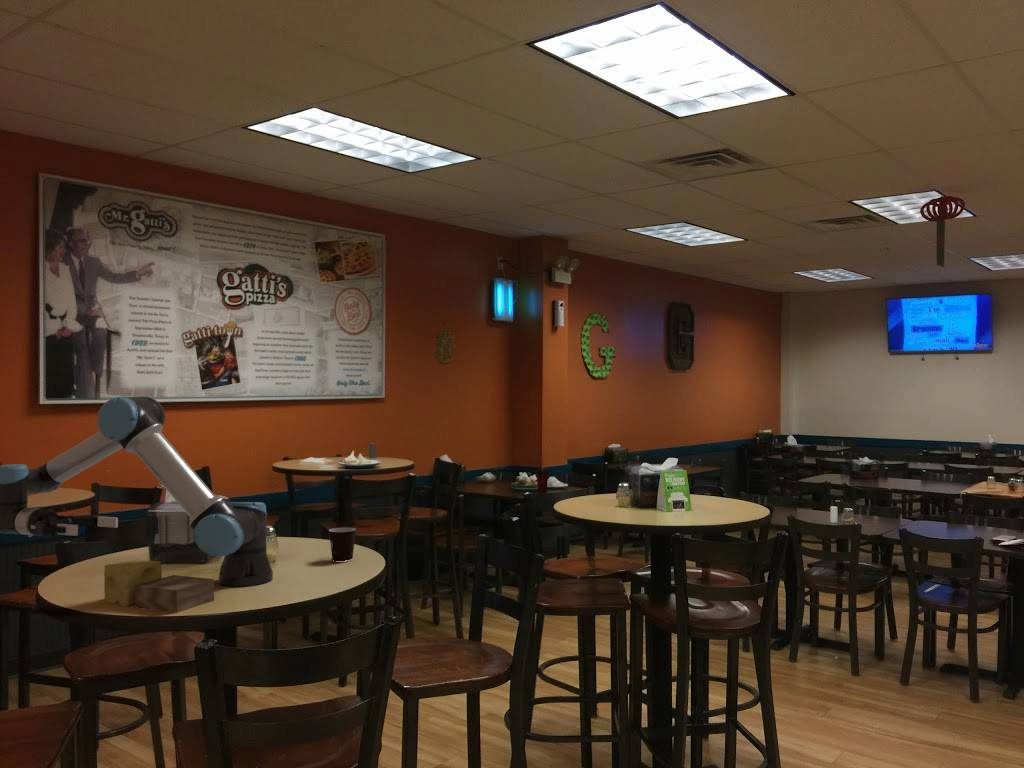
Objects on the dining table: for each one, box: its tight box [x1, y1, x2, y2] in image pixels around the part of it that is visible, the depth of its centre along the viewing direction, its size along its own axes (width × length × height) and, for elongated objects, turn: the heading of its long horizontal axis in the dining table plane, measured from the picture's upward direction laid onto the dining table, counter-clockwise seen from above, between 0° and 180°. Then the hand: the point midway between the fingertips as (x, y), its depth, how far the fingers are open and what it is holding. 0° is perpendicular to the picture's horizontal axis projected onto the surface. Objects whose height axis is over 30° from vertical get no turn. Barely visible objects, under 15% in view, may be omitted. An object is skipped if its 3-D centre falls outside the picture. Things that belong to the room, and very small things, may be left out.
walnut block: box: [134, 574, 215, 614], centre depth 218 cm, size 14×13×6 cm
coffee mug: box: [328, 527, 357, 561], centre depth 274 cm, size 12×9×10 cm
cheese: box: [103, 558, 163, 607], centre depth 223 cm, size 10×11×10 cm
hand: (97, 526), depth 227 cm, fingers open, 13 cm apart
